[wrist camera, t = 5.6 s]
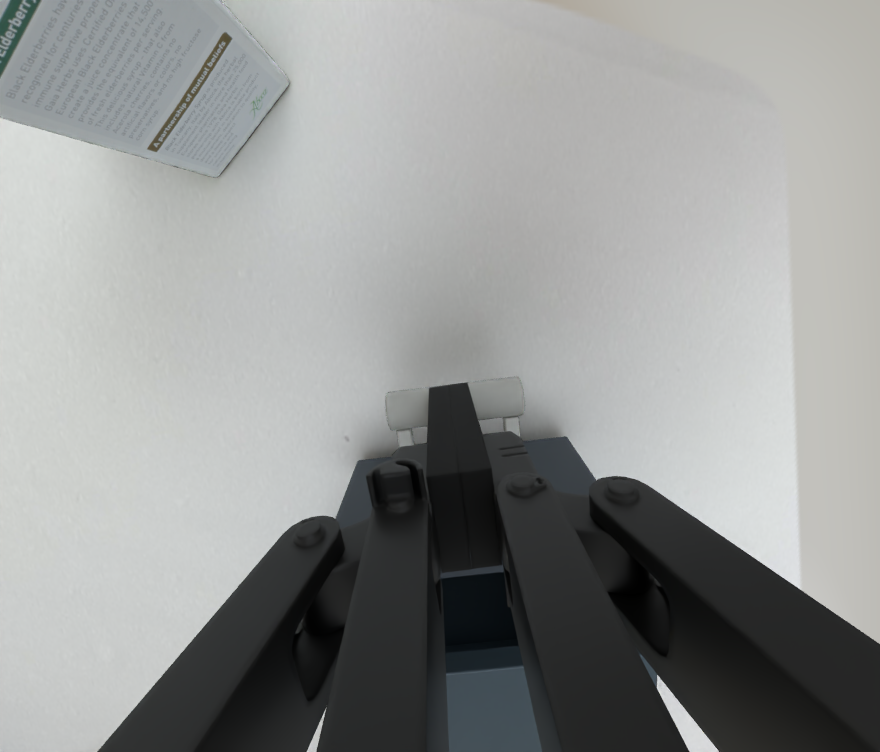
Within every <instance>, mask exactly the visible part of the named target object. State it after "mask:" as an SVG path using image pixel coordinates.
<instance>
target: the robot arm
mask: <svg viewBox="0 0 880 752" xmlns="http://www.w3.org/2000/svg"><path fill="white" fill-rule="evenodd" d="M366 480H367V485H368V490H369V494H370V499H371V504H372V510H371V515H370V517H368V518H367V519H365V520H363V521H361V522H358V523H356V524H353V525H350V526H347V527H344V528H341V529H340V526H339V522H338V521H337V520H336V519H334V518H333V517H328V516H317V517H311V518H308V519H305V520H302V521H300V522H299V523H297V524H295V525H293V526H292V527H290V528H289V529H288V530H287V531H286V532H285V533H284V534H283V535H282V536H281V537H280V538H279V539H278V541H277V542H276V543H275V544H274V545H273V547H272V548H271V549H270V550H269V551H268V552H267V554H266V555H265V556H264V557H263V558H262V559H261V561H260V562H259V563H258V564H257V565H256V566H255V568H254V569H253V570H252V571H251V572H250V573H249V575H248V576H247V577H246V578H245V579H244V581H243V582H242V583H241V584H240V585H239V586H238V588H237V589H236V590H235V591H234V592H233V593H232V595H231V596H230V597H229V598H228V599H227V600H226V602H225V603H224V604H223V605H222V606H221V607H220V609H219V610H218V611H217V612H216V613H215V615H214V616H213V617H212V618H211V619H210V620H209V622H208V623H207V624H206V625H205V626H204V627H203V629H202V630H201V631H200V632H199V633H198V634H197V636H196V637H195V638H194V639H193V640H192V642H191V643H190V644H189V645H188V646H187V647H186V649H185V650H184V651H183V652H182V653H181V654H180V656H179V657H178V658H177V659H176V660H175V661H174V663H173V664H172V665H171V666H170V667H169V668H168V670H167V671H166V672H165V673H164V674H163V676H162V677H161V678H160V679H159V680H158V681H157V683H156V684H155V685H154V686H153V687H152V688H151V690H150V691H149V692H148V693H147V694H146V695H145V697H144V698H143V699H142V700H141V701H140V702H139V704H138V705H137V706H136V707H135V708H134V710H133V711H132V712H131V713H130V714H129V715H128V717H127V718H126V719H125V720H124V721H123V722H122V724H121V725H120V726H119V727H118V728H117V729H116V731H115V732H114V733H113V734H112V735H111V737H110V738H109V739H108V740H107V741H106V742H105V744H104V745H103V746H102V747H101V748H100V749H99V751H98V752H307V749H308V747H309V745H310V743H311V740H312V738H313V736H314V734H315V731H316V729H317V727H318V724H319V722H320V720H321V718H322V715H323V713H324V711H325V709H326V712H325V717H324V721H323V725H322V730H321V734H320V739H319V743H318V747H317V752H449V736H448V711H447V686H446V660H445V635H444V610H443V588H442V582H441V576H440V574H441V571H442V573H446V572H454V571H462V570H470V569H476V568H484V567H492V566H500V565H502V561H503V568H504V577H505V586H506V596H507V605H508V607H511V611H512V616H513V621H514V625H515V630H516V634H517V639H518V644H519V648H520V653H521V657H522V662H523V666H524V671H525V676H526V680H527V685H528V689H529V694H530V699H531V703H532V708H533V712H534V717H535V721H536V726H537V731H538V735H539V740H540V744H541V749H542V752H689V750H688V748H687V746H686V744H685V743H684V741H683V739H682V737H681V735H680V733H679V731H678V729H677V727H676V725H675V723H674V721H673V719H672V717H671V715H670V713H669V711H668V709H667V708H666V706H665V704H664V702H663V700H662V698H661V696H660V694H659V692H658V690H657V688H656V686H655V684H654V682H653V680H652V678H651V676H650V674H649V673H648V671H647V669H646V667H645V665H644V663H643V661H642V659H641V657H640V655H639V653H638V651H639V652H640V653H641V655H642V656H643V657H644V658H645V660H646V661H647V662H648V663H649V665H650V666H651V667H652V668H653V670H654V671H655V672H656V673H657V675H658V676H659V677H660V678H661V680H662V681H663V682H664V683H665V685H666V686H667V687H668V688H669V689H670V691H671V692H672V693H673V694H674V696H675V697H676V698H677V699H678V701H679V702H680V703H681V704H682V706H683V707H684V708H685V709H686V711H687V712H688V713H689V714H690V716H691V717H692V718H693V719H694V721H695V722H696V723H697V724H698V726H699V727H700V728H701V729H702V731H703V732H704V733H705V734H706V736H707V737H708V738H709V739H710V741H711V742H712V743H713V744H714V746H715V747H716V748H717V749H718V751H719V752H880V644H879V643H877V642H876V641H874V640H873V639H871V638H870V637H869V636H867V635H865V634H864V633H863V632H861V631H860V630H858V629H857V628H855V627H854V626H852V625H851V624H850V623H848V622H847V621H845V620H844V619H842V618H841V617H839V616H838V615H836V614H835V613H833V612H832V611H831V610H829V609H828V608H826V607H825V606H823V605H822V604H820V603H819V602H817V601H816V600H814V599H813V598H811V597H810V596H808V595H807V594H805V593H804V592H803V591H801V590H800V589H798V588H797V587H795V586H794V585H793V584H791V583H790V582H788V581H787V580H785V579H784V578H782V577H781V576H779V575H778V574H776V573H775V572H774V571H772V570H771V569H769V568H768V567H766V566H765V565H763V564H762V563H760V562H759V561H757V560H756V559H755V558H753V557H752V556H750V555H749V554H747V553H746V552H744V551H743V550H741V549H740V548H738V547H737V546H736V545H734V544H733V543H731V542H730V541H728V540H727V539H725V538H724V537H722V536H721V535H719V534H718V533H717V532H715V531H714V530H712V529H711V528H709V527H708V526H706V525H705V524H703V523H702V522H700V521H699V520H698V519H696V518H695V517H693V516H692V515H690V514H689V513H687V512H686V511H684V510H683V509H681V508H680V507H679V506H677V505H676V504H674V503H673V502H671V501H670V500H668V499H667V498H665V497H664V496H662V495H661V494H660V493H658V492H657V491H655V490H654V489H652V488H651V487H649V486H648V485H646V484H644V483H642V482H640V481H638V480H635V479H631V478H627V477H621V476H619V477H618V476H612V477H606V478H601V479H599V480H597V481H595V482H593V483H592V485H591V486H590V487H589V495H582V494H570V493H564V492H560V491H556V490H554V488H553V486H552V484H551V483H550V482H549V481H548V479H547V478H545V477H543V476H541V475H539V474H538V472H537V470H536V468H535V466H534V464H533V462H532V460H531V458H530V456H529V454H528V452H527V450H526V448H525V447H524V444H523V442H522V440H521V438H520V437H519V436H518V435H516V434H514V433H513V432H511V431H506V432H498V433H491V434H483V435H482V432H481V428H480V425H479V421H478V418H477V414H476V411H475V407H474V404H473V400H472V396H471V393H470V389H469V386H468V382H467V383H460V384H452V385H445V386H438V387H430V388H429V399H428V433H427V443H425V444H418V445H410V446H402V447H399V449H398V450H397V451H396V452H395V453H394V454H393V455H392V458H391V460H388V461H385V462H383V463H380V464H378V465H376V466H375V467H373V468H372V469H371V470H369V472H368V473H367V475H366ZM469 548H470V549H469ZM470 556H471V557H470ZM471 563H472V565H471ZM636 648H637V649H636ZM637 650H638V651H637ZM326 706H327V708H326Z"/></svg>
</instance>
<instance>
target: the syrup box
mask: <svg viewBox="0 0 880 752" xmlns="http://www.w3.org/2000/svg"><path fill="white" fill-rule="evenodd" d="M289 83H290V82H289V79H288V78H287V76H286V74H285V73H284V72H283V71H282V70H281V68H280V67H279V66H278V65H277V64H276V63H275V62H274V60H273V59H272V58H271V57H270V56H269V54H268V53H267V52H266V51H265V50H264V49H263V48H262V46H261V45H260V44H259V43H258V42H257V41H256V40H255V38H254V37H253V36H252V35H251V34H250V33H249V31H248V30H247V29H246V28H245V27H244V26H243V25H242V23H241V22H240V21H239V20H238V19H237V18H236V17H235V16H234V15H233V13H232V12H231V11H230V10H229V9H228V8H227V7H226V6H225V5H224V3H223V2H222V1H221V0H0V118H3V119H6V120H10V121H13V122H16V123H20V124H24V125H27V126H31V127H35V128H38V129H42V130H45V131H49V132H52V133H56V134H60V135H63V136H67V137H70V138H73V139H77V140H81V141H84V142H88V143H91V144H95V145H99V146H102V147H106V148H110V149H114V150H117V151H121V152H124V153H128V154H131V155H135V156H139V157H143V158H146V159H150V160H154V161H157V162H160V163H164V164H167V165H171V166H174V167H177V168H182V169H185V170H189V171H192V172H196V173H199V174H203V175H206V176H210V177H218V176H219V175H220V174H221V172H222V171H223V170H224V169H225V167H226V166H227V165H228V164H229V162H230V161H231V160H232V159H233V157H234V156H235V155H236V154H237V152H238V151H239V150H240V149H241V147H242V146H243V145H244V143H245V142H246V141H247V139H248V138H249V137H250V135H251V134H252V133H253V132H254V130H255V129H256V127H257V126H258V125H259V124H260V122H261V121H262V120H263V118H264V117H265V116H266V114H267V113H268V112H269V110H270V109H271V108H272V106H273V105H274V104H275V102H276V101H277V100H278V99H279V97H280V96H281V94H282V93H283V92H284V90H285V89H286V87H287V86H288V85H289Z"/></svg>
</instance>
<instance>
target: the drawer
mask: <svg viewBox="0 0 880 752" xmlns="http://www.w3.org/2000/svg"><path fill="white" fill-rule="evenodd" d="M459 384H460V383H459ZM450 385H452V384H450ZM442 386H445V385H442ZM468 386H469V389H470V393H471V396H472V400H473V404H474V407H475V411H476V414H477V418H478V420H485V419H493V418H501V417H503V425H504V432H506V431H511V432H513V433H514V434H516V435H518V436H519V437H520V427H519V417H518V415H523V414H524V411H525V400H524V392H523V387H522V383H521V380H520V378H519V377H517V376H516V377H507V378H499V379H491V380H483V381H475V382H468ZM434 387H438V386H434ZM429 388H430V387H426V388H418V389H410V390H401V391H393V392H388V393H387V394H386V399H385V406H386V416H387V421H388V425H389V427H390V429H391V430H397V438H398V443H399V447H402V446H410V445H415V444H414V438H413V432H412V428H417V427H426V426H428V399H429ZM522 442H523V444H524V447H525V448H526V450H527V452H528V454H529V456H530V458H531V460H532V462H533V464H534V466H535V468H536V470H537V472H538V474H539V475H541V476H543V477H545V478H547V479H548V481H549V482H550V483H551V484H552V486H553V488H554V490H556V491H560V492H564V493H570V494H582V495H589V487H590V486H591V485H592V483H593V482H595V481H596V479H595V478H594V476H593V475H592V473H591V472H590V470H589V469H588V467H587V466H586V465H585V463H584V462H583V460H582V459H581V457H580V456H579V454H578V453H577V451H576V450H575V448H574V447H573V445H572V444H571V442H570V441H569V439H568V438H567V437H556V438H548V439H539V440H531V441H522ZM391 458H392V457H385V458H376V459H368V460H359V461H358V462H357V464H356V467H355V469H354V472H353V475H352V477H351V480H350V482H349V485H348V488H347V490H346V493H345V496H344V498H343V501H342V503H341V506H340V509H339V511H338V514H337V516H336V520H337V521H338V522H339V526H340V529H341V528H344V527H347V526H350V525H353V524H356V523H358V522H361V521H363V520H365V519H367V518H368V517H370V515H371V510H372V504H371V499H370V494H369V490H368V485H367V480H366V475H367V473H368V472H369V470H371V469H372V468H373V467H375V466H376V465H378V464H380V463H383V462H385V461H388V460H391ZM469 549H470V548H469ZM470 557H471V556H470ZM471 565H472V563H471ZM440 576H441V582H442V588H443V610H444V635H445V653H447V652H457V651H468V650H478V649H488V648H498V647H508V646H518V645H519V644H518V639H517V634H516V630H515V625H514V621H513V616H512V611H511V607H508V605H507V596H506V586H505V577H504V568H503V561H502V565H500V566H492V567H484V568H476V569H470V570H462V571H454V572H446V573H442V571H441V574H440Z"/></svg>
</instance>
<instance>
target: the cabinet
mask: <svg viewBox="0 0 880 752" xmlns="http://www.w3.org/2000/svg"><path fill="white" fill-rule="evenodd" d="M636 649H637V648H636ZM637 651H638V650H637ZM638 653H639V655H640V657H641V659H642V661H643V663H644V665H645V667H646V669H647V671H648V673H649V674H650V676H651V678H652V680H653V682H654V684H655V686H656V688H657V673H656V672H655V671H654V670H653V668H652V667H651V666H650V665H649V663H648V662H647V661H646V660H645V658H644V657H643V656H642V655H641V653H640V652H639V651H638ZM445 660H446V686H447V711H448V736H449V752H542V749H541V744H540V740H539V735H538V731H537V726H536V721H535V717H534V712H533V708H532V703H531V699H530V694H529V689H528V685H527V680H526V676H525V671H524V666H523V662H522V657H521V653H520V648H519V645H518V646H508V647H498V648H488V649H478V650H468V651H457V652H447V653H445Z"/></svg>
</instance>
